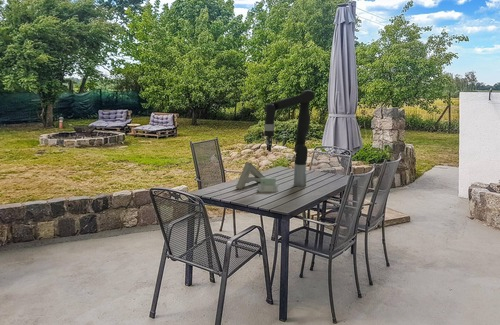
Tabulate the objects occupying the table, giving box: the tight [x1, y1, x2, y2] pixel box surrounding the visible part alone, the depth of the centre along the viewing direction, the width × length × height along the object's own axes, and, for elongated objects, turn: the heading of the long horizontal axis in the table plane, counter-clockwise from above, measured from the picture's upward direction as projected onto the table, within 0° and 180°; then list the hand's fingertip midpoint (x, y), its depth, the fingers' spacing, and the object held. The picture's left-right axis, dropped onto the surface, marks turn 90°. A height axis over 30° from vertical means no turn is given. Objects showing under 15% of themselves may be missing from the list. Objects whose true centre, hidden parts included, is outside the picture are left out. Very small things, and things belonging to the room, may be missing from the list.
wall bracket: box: [235, 161, 266, 190], centre depth 301 cm, size 22×4×30 cm
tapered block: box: [260, 177, 277, 185], centre depth 283 cm, size 11×3×8 cm, turn 96°
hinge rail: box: [257, 183, 279, 193], centre depth 284 cm, size 14×8×5 cm, turn 96°
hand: (268, 150), depth 294 cm, fingers open, 8 cm apart
